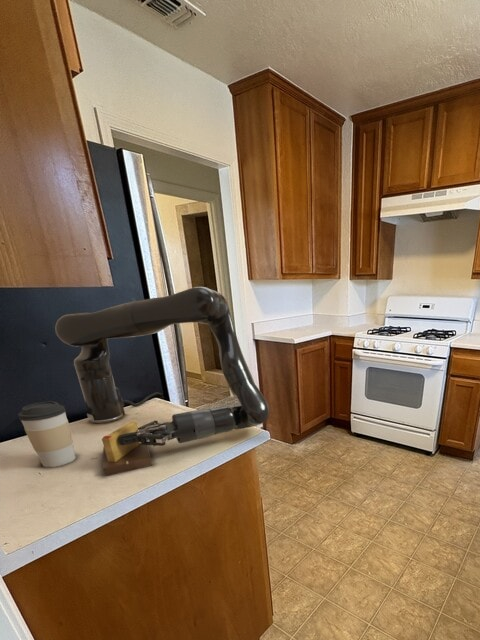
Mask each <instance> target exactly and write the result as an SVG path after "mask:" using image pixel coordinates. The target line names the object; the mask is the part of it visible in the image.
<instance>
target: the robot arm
mask: <svg viewBox="0 0 480 640" xmlns="http://www.w3.org/2000/svg"><path fill="white" fill-rule="evenodd" d="M231 314H232V313H231V311H230V307H229V304H228V301H227V299H226V298H225V296H224V295H223V294H222V293H220V292H219V291H217V290H214V289H212V288H211V289H210V288H209V287H205V286H194V287H189V288H187V289H184V290H182V291H178V292H176V293H173V294H169V295H167V296H160V297H152V298H145V299H141V300H140V299H139V300H135V301H129V302H125V303H121V304H118V305H113V306H110V307H106V308H104V309H101V310H98V311H95V312H77V313H67V314H64V315H62V316H61V317H60V318H58V320H57V321H56V322H55V323H56V324H55V327H54V329H55V330H54V331H55V335H56V336H57V337H58V338H59V340H61V342H62V343H64V344H66V345H69V346H71V347H78V348H79V347H81V351H80V353H79V355H77V357H75V358H74V359H73V365H74V369H75V372H76V375H77V378H78V382H79V385H80V389H81V393H82V396H83V399H84V402H85V407H86V409H87V413H86V416H87V418H88V419H89V421H90V423H92V424H108V423H112V422H115V421H118V420H120V419H122V418H124V416H126V412H125V403H126V404H129V405H130V406H132V407H138V406H140V405H142V404H144V403H146V402H147V401H148V400H149V399H151V398H153V397H154V396H163V393H161V392H158V391H156V392H153V393H151V394H148V395H147V396H146V397H144V398H143V399H142V400H140V401H138V402H135V403H134V402H133V401H132V400H129V399H123V397H121V392H120V388H118V387H116V384H115V380H114V376H113V371H112V367H111V364H110V358H111V357H110V356H111V353H110V347H109V342H108V340H109V339H125V338H135V337H142V336H149V335H153V334H156V333H159V332H161V331H163V330H165V329H166V328H168V327H170V326H172V325H177V324H187V323H189V324H190V323H191V324H192V323H198V324H203V325H207V326H208V327H209V329H210V330H211V333H212V334H213V336H214V338H215V341H216V344H217V347H218V355H219V361H220V363H219V364H220V368H221V372H222V374H223V377H224V379H225V382H226V384H227V386H228V387H229V390H230V392H231V394H232V395H233V396H234V397H236V398H237V399H238V402H239V405H233V406H219V407H212V408H206V409H196V410H191V411H185V412H179V413H173V414H172V416H171V420H172V421H159V420H153V421H151V422H148V423H146V424H143V425H142V426H138V430H136V431H135V432H132V433H127V434H122V435H119V436H118V438H119V442H120V445H126V444H131V443H136V442H138V443H142V445H147V446H152V447H153V446H154V447H165V446H166V445H167V444H166V442H169V441H172V440H174V439H176V441H177V442H178V443H179V444H184V443H188V442H193V441H196V440H197V441H198V440H202V439H205V438H209V437H212V436H215V435H220V434H224V433H228V432H232V431H234V430H241V429H248V428H249V429H250V428H254V427H257V426H260V425H262V424H264V423H266V422H267V421H268V419H269V418H270V407H269V404H268V402H267V401H266V398H265V397H264V395H263V394H262V392H261V390H260V389H259V387H258V386H257V385H256V382H255V380H254V378H253V375H252V373H251V371H250V369H249V366H248V363H247V361H246V359H245V357H244V354H243V351H242V349H241V346H240V343H239V340H238V336H237V332H236V329H235V326H234V323H233V319H232V315H231Z"/></svg>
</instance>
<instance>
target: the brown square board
mask: <svg viewBox="0 0 480 640" xmlns="http://www.w3.org/2000/svg"><path fill="white" fill-rule="evenodd" d="M152 447H155V446H153V445H152ZM102 449H103V450H102V451H103V452H102V469H103V473H104V476H105V477H107V476H111V475H116V474H120V473H126V472H128V471H134V470H137V469H141V468H147V467H151V466H153V462H152V458H151V453H150V451H149V445H142V443H141V444H140V445H138V446H137V447H135V448H134V449H133V450H131V451H130V452H129V453H127V454H126V455H124V456H123V457H122V458H120V459H119V460H117V461H116V462H108V459H107V456H106V452H105V449H104V446H103V448H102ZM96 459H98V456H96V457H95V456H94V457H90V460H96Z"/></svg>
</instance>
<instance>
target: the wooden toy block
mask: <svg viewBox="0 0 480 640" xmlns="http://www.w3.org/2000/svg"><path fill="white" fill-rule="evenodd" d="M138 428H139V424H138V422H137V421H129V422H127V423H126V424H124V425H122V426H120V427H118V428H117V429H116V430H114V431H111V432H110V433H109V434H107V435H104V436H103V437H102V438H101V441H102V445H103V447H104V449H105V452H106V456H107V459H108V462H116V461H117V460H119V459H120V458H122V457H123V456H124V455H126V454H127V453H129V452H130V451H131V450H133V449H134V448H135V447H137V446H138V445H140V444H141V443H138V442H136V443H131V444H126V445H120V442H119V438H118V436H119V435H122V434H127V433H132V432H135V431H136V430H138Z"/></svg>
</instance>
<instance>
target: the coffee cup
mask: <svg viewBox="0 0 480 640" xmlns="http://www.w3.org/2000/svg"><path fill="white" fill-rule="evenodd" d="M66 412H67V409H66V408H65V405H62V404H59V403H58V402H57V401H41V402H35V403H31V404H28V405H25V406H23V407H22V409H21V411H20V412H18V414H17V416H18V420H20V422H21V423H22V426H23V427H24V428H23V429H24V432H25V434H26V436H27V438H28V439H29V442H30V444H31V446H32V448H33V450H34V451H35V452H36V454H37V456H38V459H39V461H40V463H41V465H42V466H43V467H45V468H54V467H56V468H57V467H61V466H65V465H67V464H69V463H72V462H73V461H75V459H76V452H75V448H74V444H73V443H74V440H73V436H72V432H71V431H72V430H71V427H70V423H69V419H68V418H67V413H66Z"/></svg>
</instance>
